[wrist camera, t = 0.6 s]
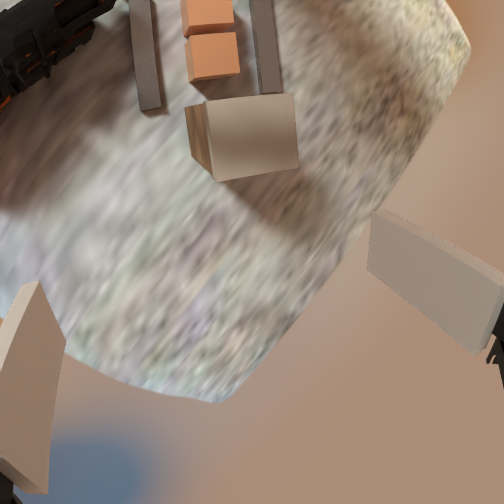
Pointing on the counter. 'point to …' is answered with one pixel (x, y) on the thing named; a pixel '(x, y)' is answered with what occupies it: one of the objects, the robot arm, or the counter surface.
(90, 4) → the tool
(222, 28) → the orange cube piece
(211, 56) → the orange cubic piece
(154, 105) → the slot rails
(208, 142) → the light brown tall block
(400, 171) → the counter surface
